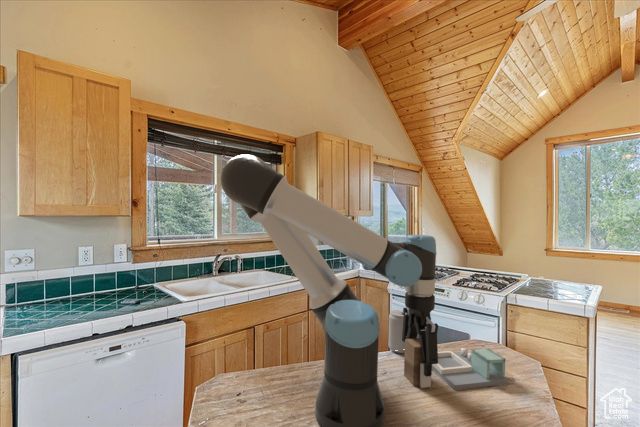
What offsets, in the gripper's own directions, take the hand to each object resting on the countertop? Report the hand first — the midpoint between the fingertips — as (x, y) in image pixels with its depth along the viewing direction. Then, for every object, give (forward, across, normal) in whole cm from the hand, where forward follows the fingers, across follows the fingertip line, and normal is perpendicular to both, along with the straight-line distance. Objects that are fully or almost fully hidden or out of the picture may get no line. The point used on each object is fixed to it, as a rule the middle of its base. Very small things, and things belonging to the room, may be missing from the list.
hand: (417, 378), depth 81 cm
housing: (-1, -2, -20) cm, 20 cm away
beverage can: (+1, +17, -3) cm, 17 cm away
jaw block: (0, 0, 0) cm, 0 cm away
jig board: (0, +2, -15) cm, 15 cm away
